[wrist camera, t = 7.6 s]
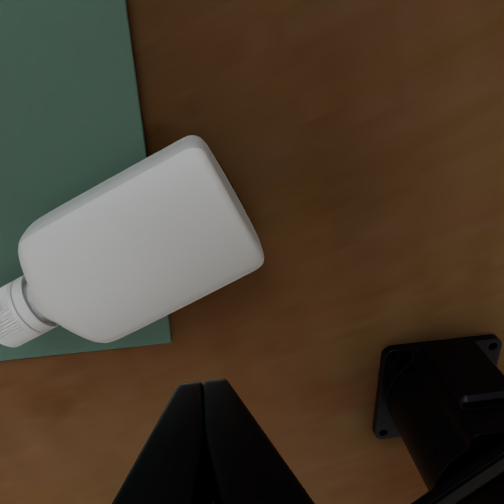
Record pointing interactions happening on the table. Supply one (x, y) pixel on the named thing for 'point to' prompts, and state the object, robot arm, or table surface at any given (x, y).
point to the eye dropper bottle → (131, 250)
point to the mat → (64, 130)
